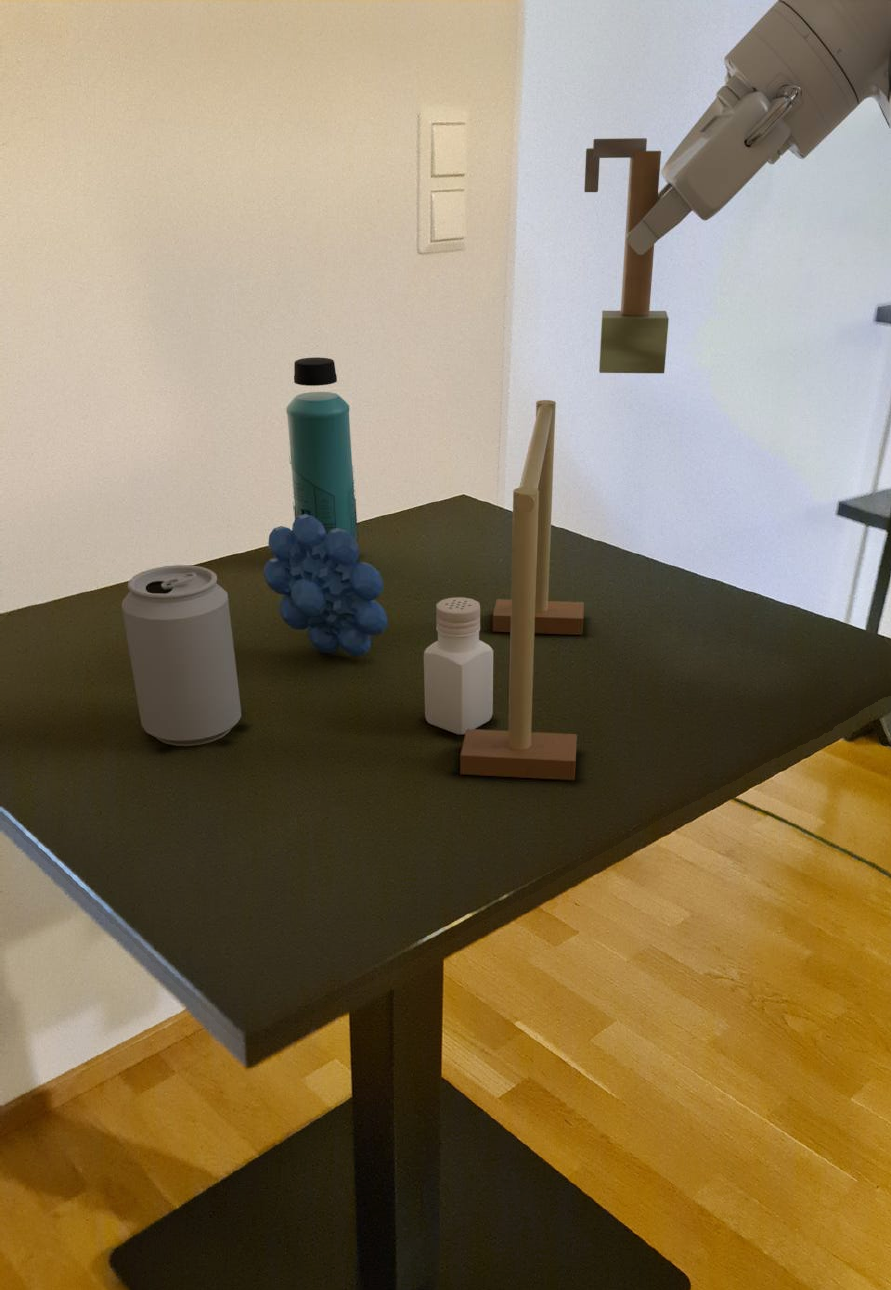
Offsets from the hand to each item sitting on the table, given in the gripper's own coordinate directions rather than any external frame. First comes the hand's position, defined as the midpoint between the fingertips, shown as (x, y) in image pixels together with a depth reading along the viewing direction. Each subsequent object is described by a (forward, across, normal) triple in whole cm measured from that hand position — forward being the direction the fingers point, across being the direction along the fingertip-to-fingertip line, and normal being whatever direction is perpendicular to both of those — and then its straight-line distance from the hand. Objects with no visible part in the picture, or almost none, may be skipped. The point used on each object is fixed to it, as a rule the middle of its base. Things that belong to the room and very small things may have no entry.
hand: (631, 245), depth 85 cm
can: (+44, -21, 0) cm, 49 cm away
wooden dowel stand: (+27, -12, -18) cm, 34 cm away
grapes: (+39, -8, -5) cm, 40 cm away
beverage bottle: (+43, +18, -2) cm, 46 cm away
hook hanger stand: (+6, 0, -7) cm, 9 cm away
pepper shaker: (+30, -18, -14) cm, 38 cm away
